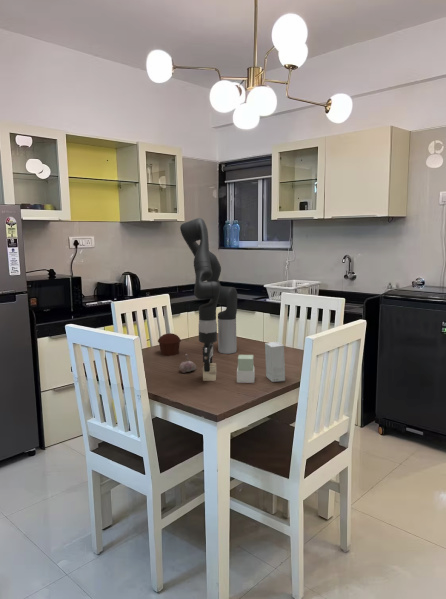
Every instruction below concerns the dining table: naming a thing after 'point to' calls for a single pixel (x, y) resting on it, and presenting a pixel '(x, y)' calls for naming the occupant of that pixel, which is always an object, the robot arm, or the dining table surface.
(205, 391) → the dining table surface
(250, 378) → the grey base block
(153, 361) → the dining table surface
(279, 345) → the skincare box
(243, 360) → the sage block
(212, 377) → the beige metal block
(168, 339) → the muffin
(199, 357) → the dining table surface
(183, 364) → the garlic bulb
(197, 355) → the dining table surface
